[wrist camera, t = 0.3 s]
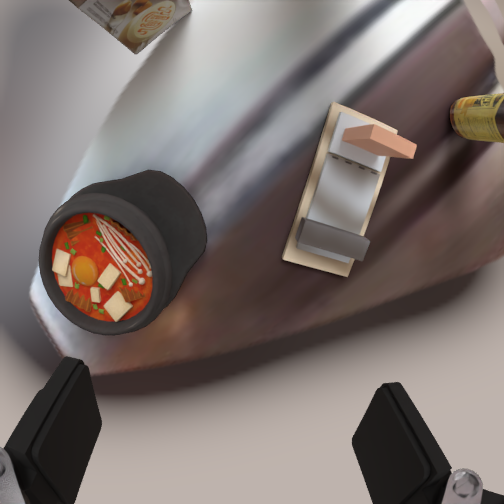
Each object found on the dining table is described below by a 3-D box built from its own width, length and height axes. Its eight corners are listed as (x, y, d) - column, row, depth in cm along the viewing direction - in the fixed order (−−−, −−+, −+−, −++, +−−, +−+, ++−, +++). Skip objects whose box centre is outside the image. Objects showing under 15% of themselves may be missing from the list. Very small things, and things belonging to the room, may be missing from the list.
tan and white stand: (339, 112, 33) (369, 102, 24) (389, 134, 34) (428, 133, 25) (327, 151, 34) (355, 152, 26) (378, 171, 35) (415, 179, 27)
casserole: (153, 133, 33) (130, 128, 25) (238, 259, 39) (239, 287, 31) (27, 244, 36) (-7, 264, 29) (101, 342, 42) (81, 377, 34)
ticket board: (331, 103, 33) (341, 98, 30) (394, 130, 34) (408, 129, 31) (281, 256, 39) (286, 267, 35) (345, 274, 40) (354, 285, 37)
